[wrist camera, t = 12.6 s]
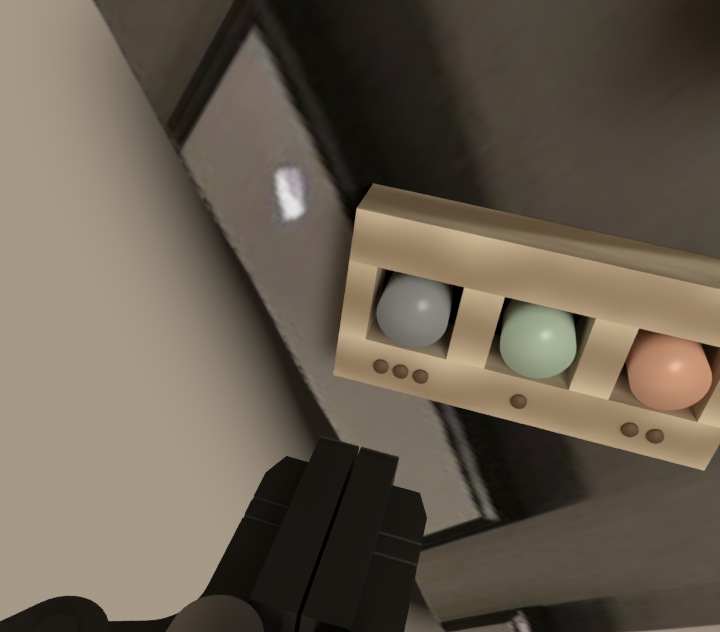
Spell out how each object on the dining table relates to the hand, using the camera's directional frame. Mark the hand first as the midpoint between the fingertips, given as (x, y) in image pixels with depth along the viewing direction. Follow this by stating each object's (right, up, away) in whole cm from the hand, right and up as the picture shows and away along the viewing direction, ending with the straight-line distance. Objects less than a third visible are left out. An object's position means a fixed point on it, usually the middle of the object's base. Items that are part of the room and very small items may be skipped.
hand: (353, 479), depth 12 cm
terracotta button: (+17, +1, +25) cm, 30 cm away
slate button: (+4, +5, +27) cm, 28 cm away
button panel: (+11, +3, +27) cm, 29 cm away
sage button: (+10, +3, +26) cm, 28 cm away
